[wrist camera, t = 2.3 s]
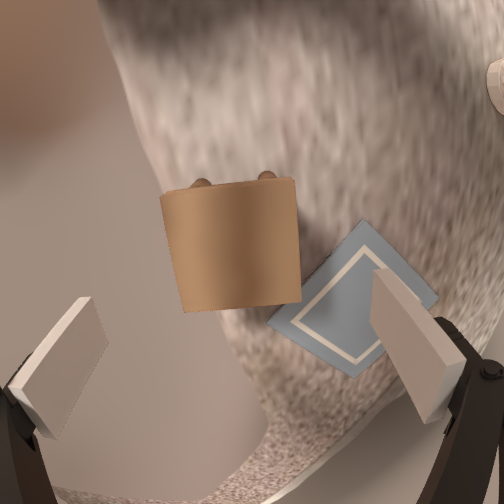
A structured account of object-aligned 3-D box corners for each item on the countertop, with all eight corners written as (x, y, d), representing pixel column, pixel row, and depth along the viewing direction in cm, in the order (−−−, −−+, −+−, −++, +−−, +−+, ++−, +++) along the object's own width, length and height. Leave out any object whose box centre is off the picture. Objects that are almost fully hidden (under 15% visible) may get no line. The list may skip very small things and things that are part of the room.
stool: (200, 261, 29) (183, 312, 21) (186, 175, 26) (159, 197, 18) (287, 252, 29) (301, 301, 21) (280, 164, 26) (294, 181, 18)
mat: (265, 321, 32) (266, 324, 31) (363, 218, 28) (365, 219, 27) (352, 376, 35) (354, 379, 35) (437, 296, 31) (439, 298, 31)
